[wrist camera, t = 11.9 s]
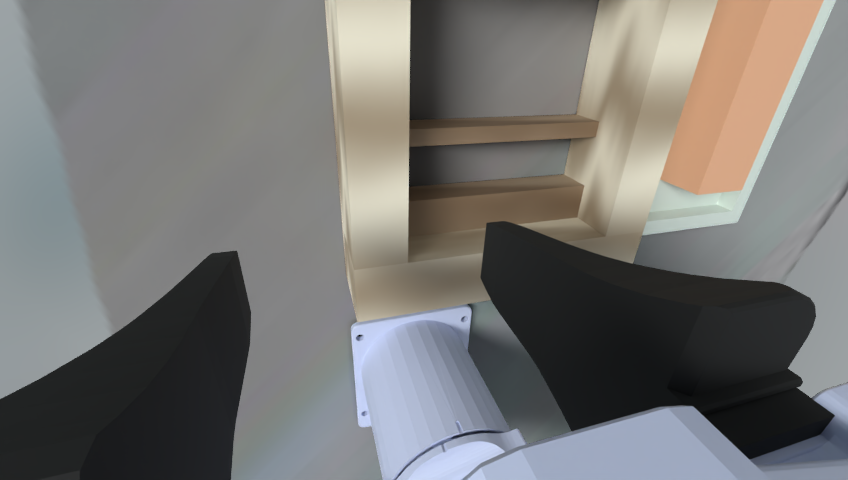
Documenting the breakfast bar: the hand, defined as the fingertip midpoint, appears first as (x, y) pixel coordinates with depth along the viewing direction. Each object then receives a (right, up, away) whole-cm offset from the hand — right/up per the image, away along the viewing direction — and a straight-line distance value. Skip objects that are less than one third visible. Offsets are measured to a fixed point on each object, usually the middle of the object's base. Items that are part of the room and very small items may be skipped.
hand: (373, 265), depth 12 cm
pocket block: (+5, +8, +9) cm, 13 cm away
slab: (+18, +9, +12) cm, 24 cm away
